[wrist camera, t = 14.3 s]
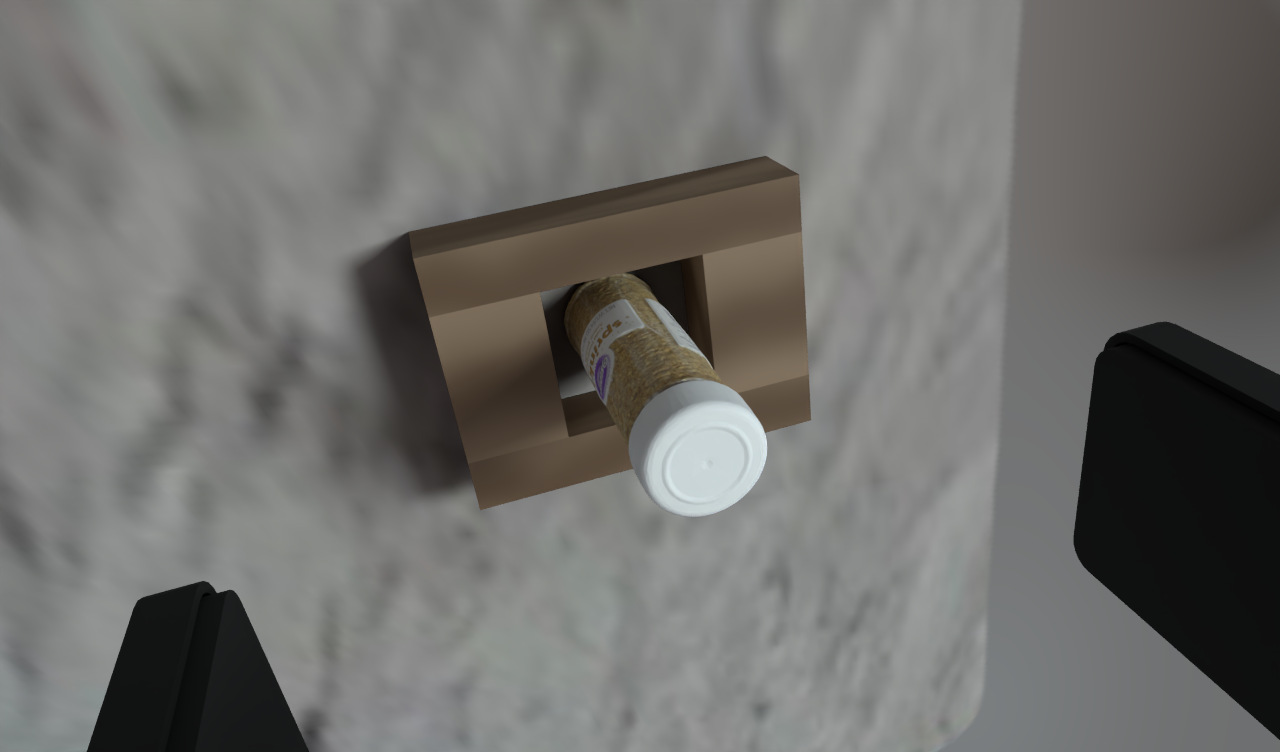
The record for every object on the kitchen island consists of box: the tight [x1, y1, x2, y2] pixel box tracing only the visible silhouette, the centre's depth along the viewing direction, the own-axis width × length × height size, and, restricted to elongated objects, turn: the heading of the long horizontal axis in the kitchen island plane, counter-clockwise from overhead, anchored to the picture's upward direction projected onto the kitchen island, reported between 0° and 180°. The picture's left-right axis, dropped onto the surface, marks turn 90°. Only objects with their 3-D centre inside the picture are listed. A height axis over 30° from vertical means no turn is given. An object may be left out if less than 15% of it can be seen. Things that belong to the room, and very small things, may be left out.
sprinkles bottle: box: [564, 273, 767, 517], centre depth 36 cm, size 5×5×14 cm
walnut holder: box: [409, 156, 811, 510], centre depth 40 cm, size 12×16×4 cm
